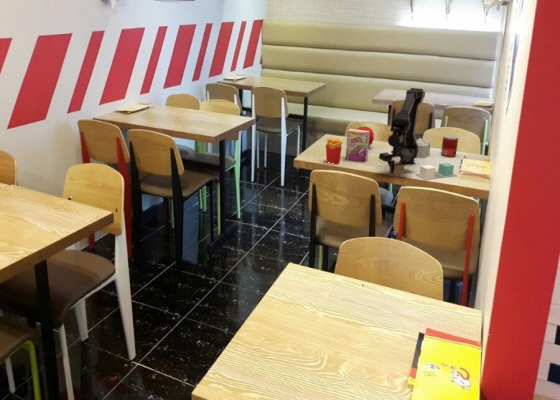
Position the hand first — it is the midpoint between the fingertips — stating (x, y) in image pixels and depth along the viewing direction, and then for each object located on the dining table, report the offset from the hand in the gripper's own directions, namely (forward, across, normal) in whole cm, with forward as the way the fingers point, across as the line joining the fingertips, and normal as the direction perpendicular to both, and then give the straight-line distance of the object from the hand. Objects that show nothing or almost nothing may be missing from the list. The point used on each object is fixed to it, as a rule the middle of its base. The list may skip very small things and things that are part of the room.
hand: (396, 171), depth 269 cm
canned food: (+1, +45, +18) cm, 48 cm away
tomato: (+1, +7, +47) cm, 48 cm away
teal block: (0, +22, -10) cm, 24 cm away
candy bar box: (+1, -8, +27) cm, 28 cm away
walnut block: (+1, 0, 0) cm, 1 cm away
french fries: (+1, -22, +27) cm, 35 cm away
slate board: (+1, +16, -10) cm, 19 cm away
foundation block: (0, +11, -10) cm, 15 cm away
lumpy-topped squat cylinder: (+1, +31, +25) cm, 40 cm away
